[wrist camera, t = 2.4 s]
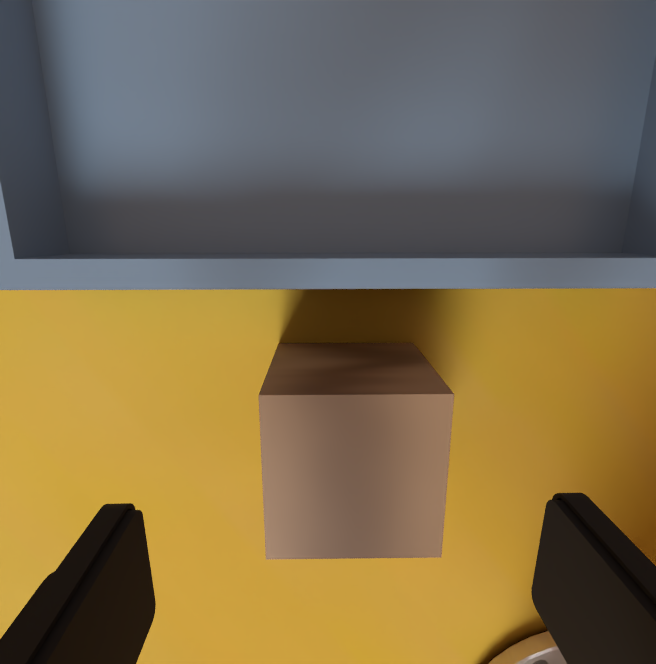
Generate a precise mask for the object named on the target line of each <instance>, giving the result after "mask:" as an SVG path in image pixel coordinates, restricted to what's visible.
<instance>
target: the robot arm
mask: <svg viewBox="0 0 656 664" xmlns="http://www.w3.org/2000/svg"><path fill="white" fill-rule="evenodd" d="M532 599H533V603H534V605H535V608H536V610H537V612H538V613H539V615H540V617H541V619H542V620H543V622H544V624H545V626H546V627H547V629H548V631H546V632H543V633H540V634H537V635H534V636H531V637H528V638H526V639H524V640H522V641H520V642H518V643H516V644H514V645H512V646H510V647H509V648H507V649H506V650H505V651H503V652H502V653H500V654H499V655H497V656H496V657H495V658H493V659H492V660H491V661H490V662H489V663H488V664H656V566H655V565H654V564H653V563H652V562H651V561H650V560H649V559H648V558H647V557H646V556H645V555H644V554H643V553H642V552H641V551H640V550H639V549H638V548H637V547H636V546H635V545H634V544H633V543H632V541H631V540H630V539H629V538H628V537H627V536H626V535H625V534H624V533H623V532H622V531H621V530H620V529H619V528H618V527H617V526H616V525H615V524H614V523H613V522H612V521H611V520H610V519H609V518H608V517H607V516H606V515H605V514H604V513H603V512H602V511H601V510H600V509H599V508H598V507H597V506H596V505H595V504H594V503H593V502H592V501H591V500H590V499H589V498H588V497H587V496H586V495H585V494H583V493H557V494H555V495H554V496H553V499H552V500H549V501H548V502H547V504H546V509H545V514H544V520H543V526H542V532H541V538H540V544H539V549H538V555H537V561H536V567H535V573H534V579H533V585H532ZM155 605H156V604H155V595H154V589H153V582H152V575H151V568H150V561H149V554H148V548H147V541H146V534H145V527H144V520H143V514H142V512H141V511H140V510H135V507H134V505H133V504H131V503H129V504H106V505H103V507H102V508H101V509H100V510H99V511H98V513H97V514H96V516H95V517H94V518H93V520H92V521H91V523H90V524H89V525H88V527H87V528H86V529H85V531H84V532H83V534H82V535H81V536H80V538H79V539H78V540H77V542H76V543H75V545H74V546H73V547H72V549H71V550H70V552H69V553H68V554H67V556H66V557H65V558H64V560H63V561H62V563H61V564H60V565H59V567H58V568H57V569H56V571H55V572H53V573H51V574H50V575H49V576H48V577H47V578H46V579H45V580H44V581H43V582H42V584H41V585H40V586H39V588H38V589H37V590H36V592H35V593H34V594H33V596H32V597H31V598H30V600H29V601H28V603H27V604H26V605H25V607H24V608H23V609H22V611H21V612H20V613H19V615H18V616H17V617H16V619H15V620H14V622H13V623H12V624H11V626H10V627H9V628H8V630H7V631H6V632H5V634H4V635H3V636H2V638H1V639H0V664H136V662H137V660H138V657H139V655H140V652H141V649H142V647H143V644H144V642H145V639H146V637H147V634H148V632H149V629H150V627H151V624H152V621H153V618H154V614H155Z"/></svg>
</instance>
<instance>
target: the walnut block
mask: <svg viewBox="0 0 656 664" xmlns="http://www.w3.org/2000/svg"><path fill="white" fill-rule="evenodd" d="M453 401H454V393H453V392H452V391H451V390H450V388H449V387H448V386H447V385H446V383H445V382H444V381H443V380H442V378H441V377H440V376H439V375H438V373H437V372H436V371H435V370H434V368H433V367H432V366H431V365H430V363H429V362H428V361H427V360H426V358H425V357H424V356H423V355H422V353H421V352H420V351H419V350H418V348H417V347H416V346H415V345H414V343H279V344H278V346H277V349H276V352H275V354H274V357H273V359H272V362H271V365H270V367H269V370H268V372H267V375H266V378H265V380H264V383H263V385H262V388H261V391H260V393H259V413H260V436H261V458H262V480H263V502H264V524H265V547H266V559H339V558H428V557H441V554H442V541H443V529H444V516H445V503H446V490H447V478H448V465H449V452H450V439H451V427H452V414H453Z"/></svg>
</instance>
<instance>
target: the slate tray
mask: <svg viewBox="0 0 656 664" xmlns="http://www.w3.org/2000/svg"><path fill="white" fill-rule="evenodd" d="M500 288H656V0H0V290H150V289H500Z"/></svg>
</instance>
